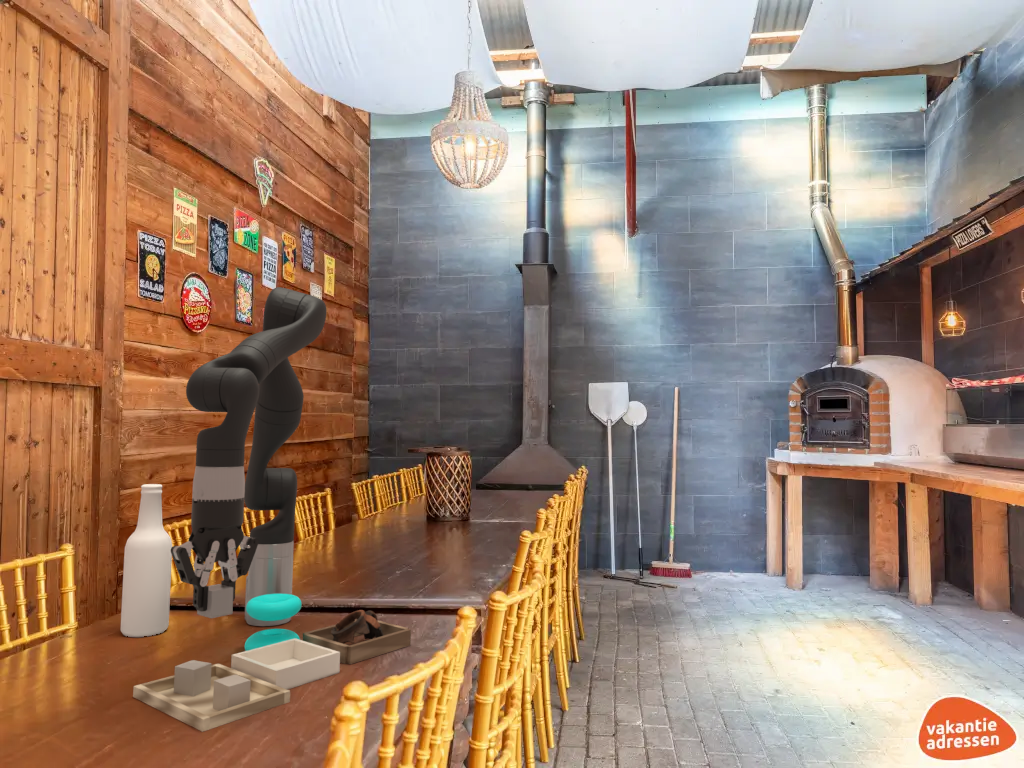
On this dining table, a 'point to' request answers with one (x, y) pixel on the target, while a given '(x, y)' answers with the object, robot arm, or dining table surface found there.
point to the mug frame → (361, 651)
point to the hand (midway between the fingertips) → (213, 607)
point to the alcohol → (147, 570)
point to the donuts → (272, 618)
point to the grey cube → (218, 601)
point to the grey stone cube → (192, 678)
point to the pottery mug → (357, 627)
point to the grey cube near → (230, 692)
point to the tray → (209, 700)
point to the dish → (288, 663)
